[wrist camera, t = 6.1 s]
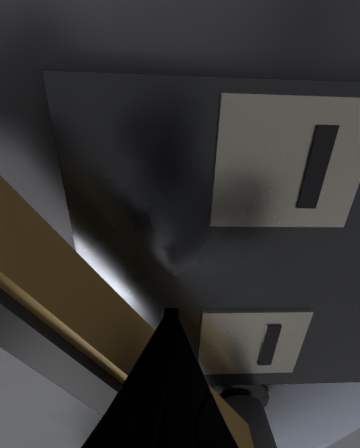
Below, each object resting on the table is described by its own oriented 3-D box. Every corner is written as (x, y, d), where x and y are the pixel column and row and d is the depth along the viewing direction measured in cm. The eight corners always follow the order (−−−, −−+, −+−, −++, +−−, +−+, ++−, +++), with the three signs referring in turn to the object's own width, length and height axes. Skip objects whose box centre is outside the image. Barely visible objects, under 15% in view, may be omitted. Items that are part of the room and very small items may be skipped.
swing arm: (271, 413, 15) (307, 514, 11) (226, 430, 16) (245, 531, 12) (-4, 99, 7) (-226, 59, 3) (-71, 160, 8) (-324, 191, 4)
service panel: (342, 412, 17) (351, 426, 16) (112, 420, 16) (109, 435, 15) (521, 91, 8) (559, 87, 8) (51, 74, 8) (36, 67, 7)
